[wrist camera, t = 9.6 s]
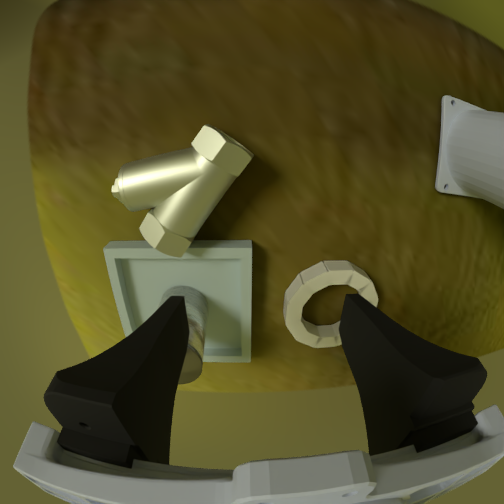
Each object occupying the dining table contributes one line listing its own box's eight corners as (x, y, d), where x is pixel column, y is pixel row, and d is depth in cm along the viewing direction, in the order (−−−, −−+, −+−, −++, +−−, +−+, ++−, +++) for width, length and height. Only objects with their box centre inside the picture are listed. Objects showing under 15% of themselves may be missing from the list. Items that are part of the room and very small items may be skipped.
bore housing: (378, 260, 22) (386, 269, 21) (360, 332, 25) (365, 343, 24) (287, 261, 22) (290, 271, 20) (280, 337, 25) (283, 349, 24)
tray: (251, 240, 21) (252, 248, 20) (250, 351, 26) (250, 362, 24) (110, 241, 21) (103, 248, 19) (136, 346, 25) (132, 356, 24)
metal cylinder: (213, 292, 22) (207, 351, 17) (202, 329, 24) (196, 389, 18) (163, 280, 22) (142, 335, 16) (157, 318, 23) (139, 375, 17)
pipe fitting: (118, 193, 20) (190, 243, 21) (92, 205, 16) (176, 265, 18) (174, 100, 17) (255, 153, 19) (155, 92, 14) (252, 157, 15)
